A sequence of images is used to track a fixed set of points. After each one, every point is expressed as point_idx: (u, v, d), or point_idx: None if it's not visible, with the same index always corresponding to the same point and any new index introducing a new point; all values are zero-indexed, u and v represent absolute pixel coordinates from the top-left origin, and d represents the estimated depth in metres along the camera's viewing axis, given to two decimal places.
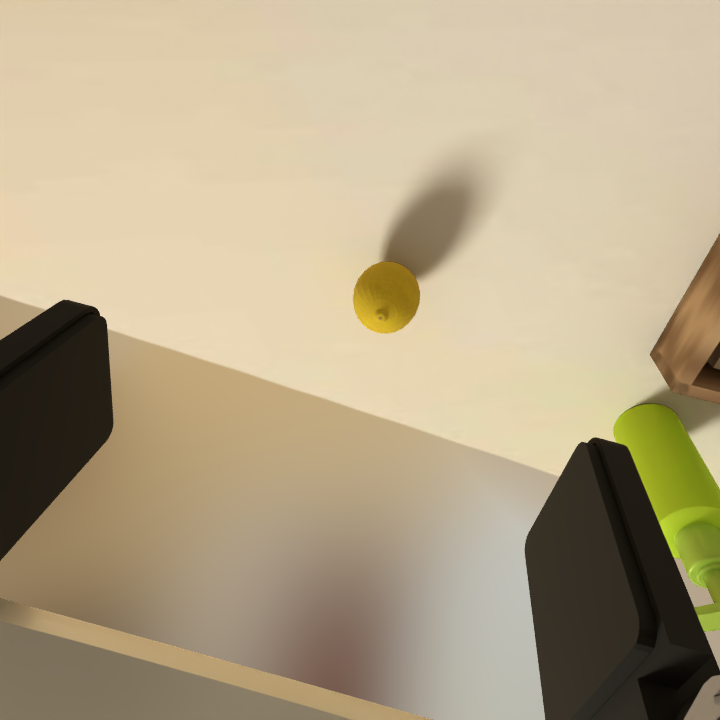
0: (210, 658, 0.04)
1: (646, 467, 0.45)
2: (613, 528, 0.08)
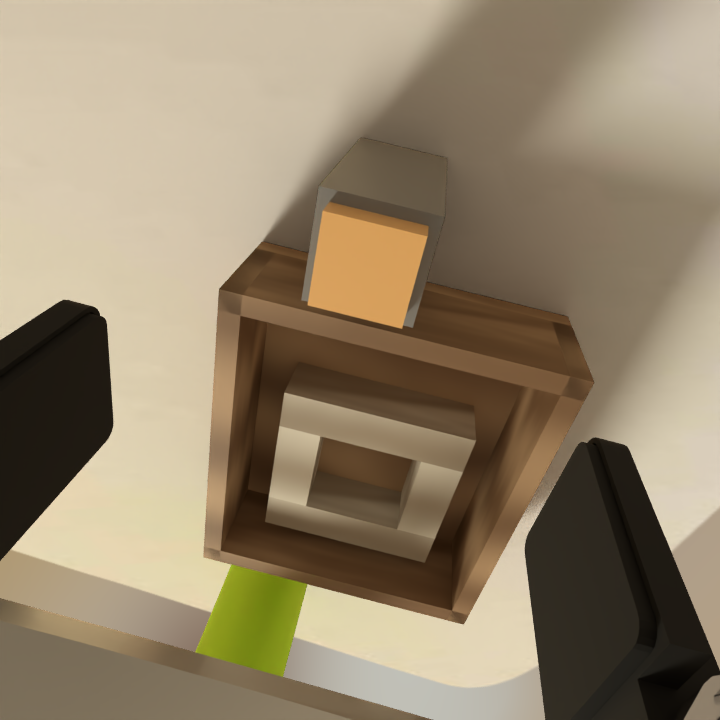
0: (210, 658, 0.04)
1: (198, 645, 0.34)
2: (613, 528, 0.08)
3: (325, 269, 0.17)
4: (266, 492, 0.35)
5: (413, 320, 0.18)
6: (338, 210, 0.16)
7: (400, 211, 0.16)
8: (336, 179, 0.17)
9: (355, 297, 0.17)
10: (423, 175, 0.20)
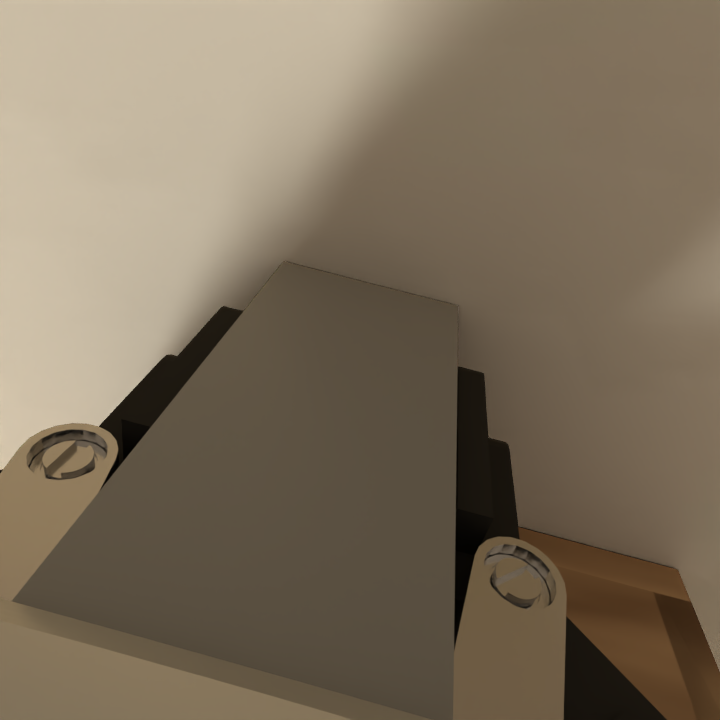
0: (210, 658, 0.04)
1: None
2: None
3: None
4: None
5: None
6: None
7: None
8: (94, 547, 0.05)
9: None
10: (399, 412, 0.08)
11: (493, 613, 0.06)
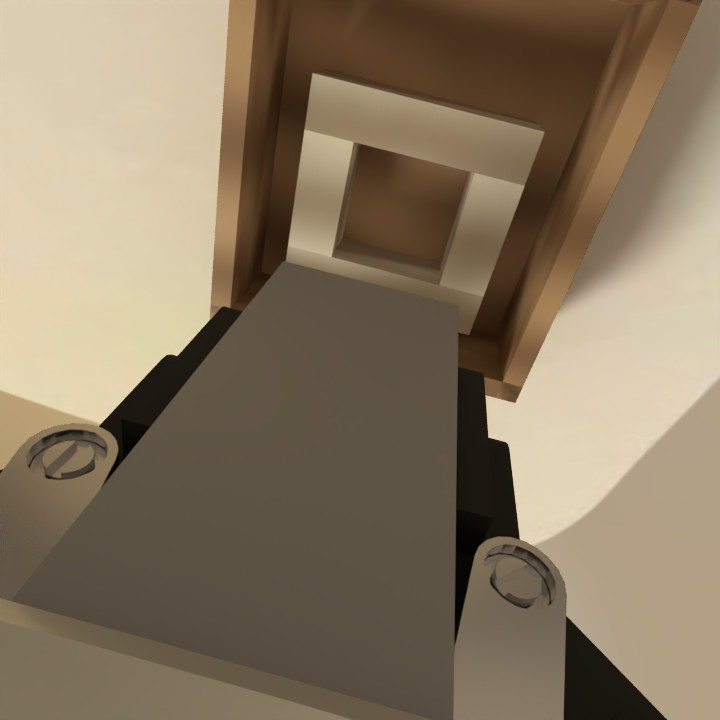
0: (210, 658, 0.04)
1: None
2: None
3: None
4: None
5: None
6: None
7: None
8: (93, 547, 0.05)
9: None
10: (399, 412, 0.08)
11: (493, 613, 0.06)
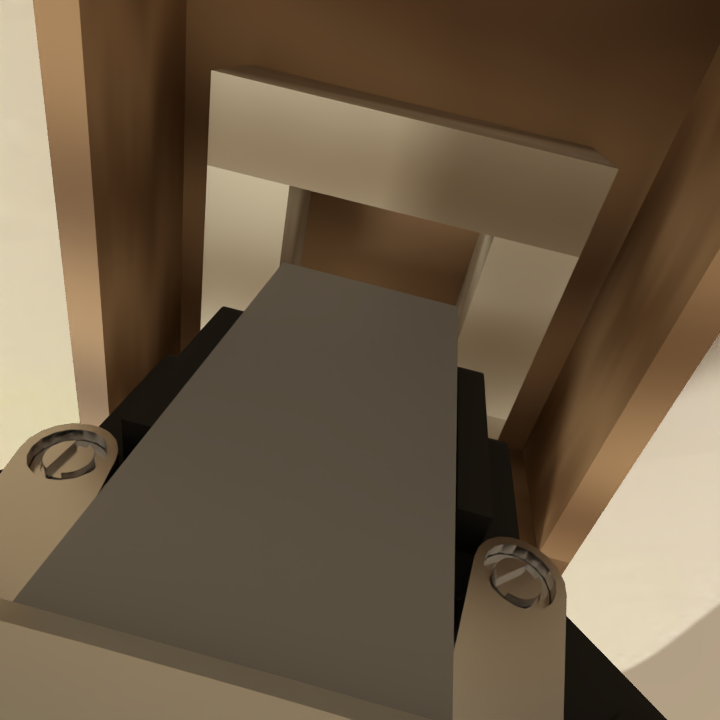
0: (210, 658, 0.04)
1: None
2: None
3: None
4: None
5: None
6: None
7: None
8: (93, 549, 0.05)
9: None
10: (398, 414, 0.08)
11: (493, 613, 0.06)
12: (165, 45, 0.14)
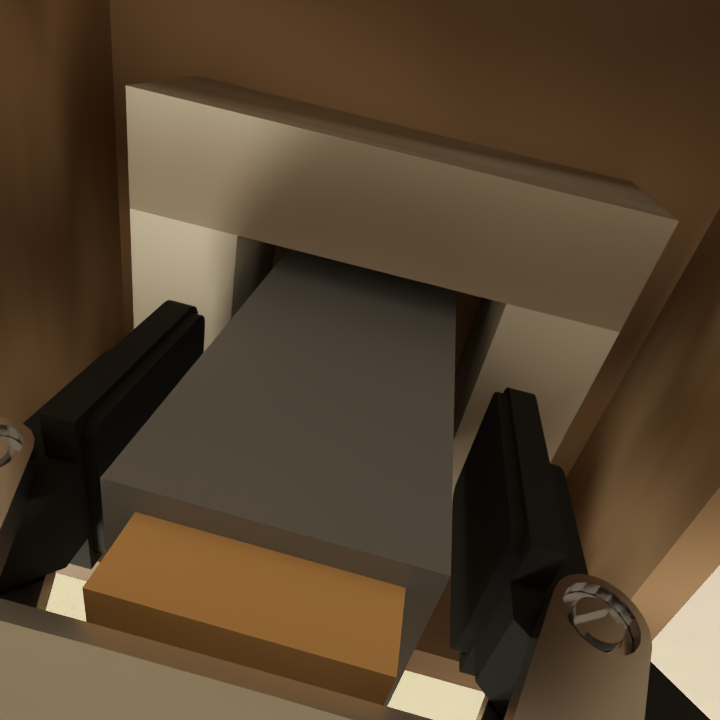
0: (210, 658, 0.04)
1: None
2: (507, 459, 0.09)
3: None
4: None
5: None
6: (142, 565, 0.06)
7: (328, 551, 0.06)
8: (178, 420, 0.07)
9: None
10: (407, 346, 0.10)
11: (569, 650, 0.06)
12: (77, 51, 0.11)
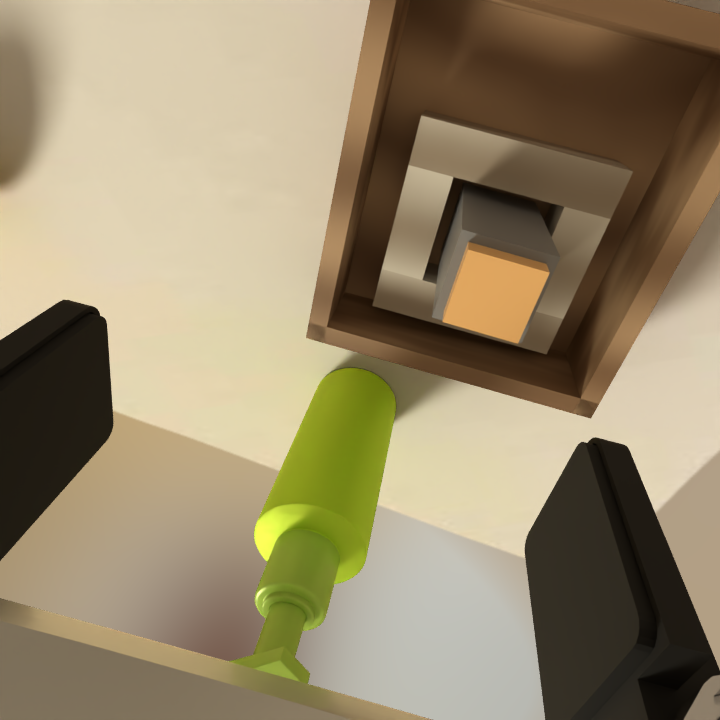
0: (210, 658, 0.04)
1: (290, 449, 0.31)
2: (613, 528, 0.08)
3: (462, 294, 0.21)
4: (365, 294, 0.33)
5: (522, 337, 0.23)
6: (478, 249, 0.21)
7: (525, 251, 0.21)
8: (469, 223, 0.22)
9: (483, 317, 0.22)
10: (526, 219, 0.25)
11: None
12: (385, 99, 0.26)
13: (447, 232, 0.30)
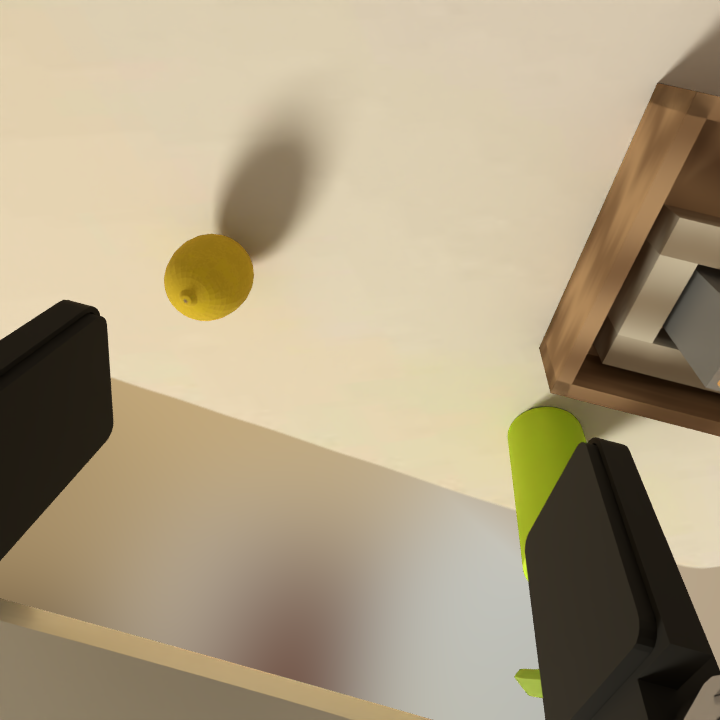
0: (210, 658, 0.04)
1: (525, 484, 0.37)
2: (613, 528, 0.08)
3: None
4: None
5: None
6: None
7: None
8: None
9: None
10: None
11: None
12: None
13: None
